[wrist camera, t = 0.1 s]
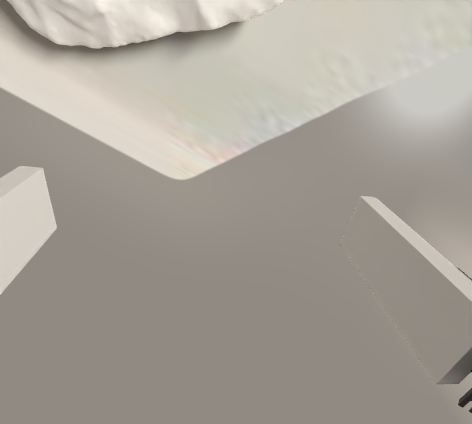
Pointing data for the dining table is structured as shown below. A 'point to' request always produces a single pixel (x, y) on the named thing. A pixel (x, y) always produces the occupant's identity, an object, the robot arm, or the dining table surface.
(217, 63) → the dining table surface
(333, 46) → the dining table surface
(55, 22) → the crumpled cloth
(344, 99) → the dining table surface
